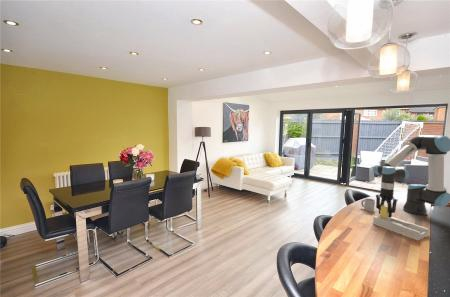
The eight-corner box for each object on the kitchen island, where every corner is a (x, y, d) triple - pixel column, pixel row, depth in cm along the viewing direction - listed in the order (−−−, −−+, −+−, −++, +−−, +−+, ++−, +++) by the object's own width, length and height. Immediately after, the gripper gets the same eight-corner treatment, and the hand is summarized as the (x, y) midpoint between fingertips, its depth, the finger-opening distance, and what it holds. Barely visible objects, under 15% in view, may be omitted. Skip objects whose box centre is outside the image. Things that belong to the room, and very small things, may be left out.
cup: (371, 212, 184) (372, 201, 183) (358, 208, 192) (359, 198, 191) (375, 210, 188) (376, 200, 187) (362, 206, 196) (363, 197, 195)
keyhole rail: (383, 220, 169) (383, 213, 168) (428, 235, 145) (429, 228, 144) (372, 223, 162) (373, 216, 162) (417, 240, 138) (418, 232, 138)
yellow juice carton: (384, 220, 165) (385, 204, 164) (390, 222, 161) (391, 206, 160) (378, 222, 162) (380, 205, 161) (384, 224, 158) (386, 207, 157)
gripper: (371, 186, 165) (369, 216, 167) (398, 192, 150) (395, 225, 152) (377, 184, 168) (375, 214, 171) (403, 190, 153) (401, 223, 156)
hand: (384, 219), depth 161 cm, fingers closed on yellow juice carton, 4 cm apart
